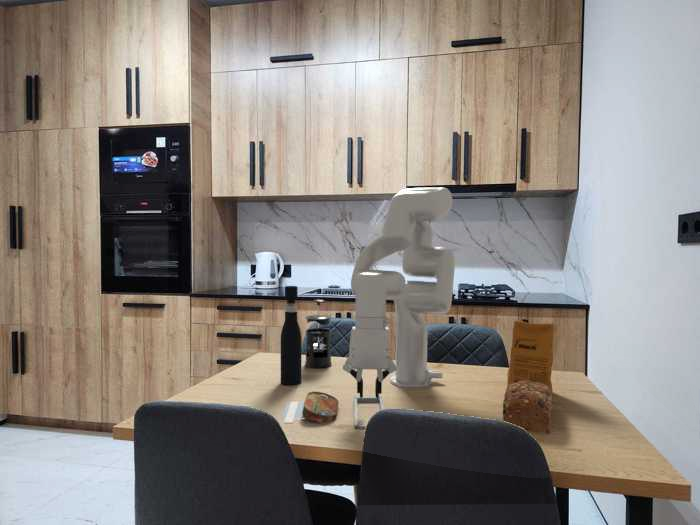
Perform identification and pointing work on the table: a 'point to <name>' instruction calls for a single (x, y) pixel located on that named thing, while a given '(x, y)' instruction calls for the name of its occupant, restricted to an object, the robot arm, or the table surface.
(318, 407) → the tin
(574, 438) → the table surface
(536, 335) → the coffee package
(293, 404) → the ticket board
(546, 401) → the bread
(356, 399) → the tray
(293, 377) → the black water bottle
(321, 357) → the french press
